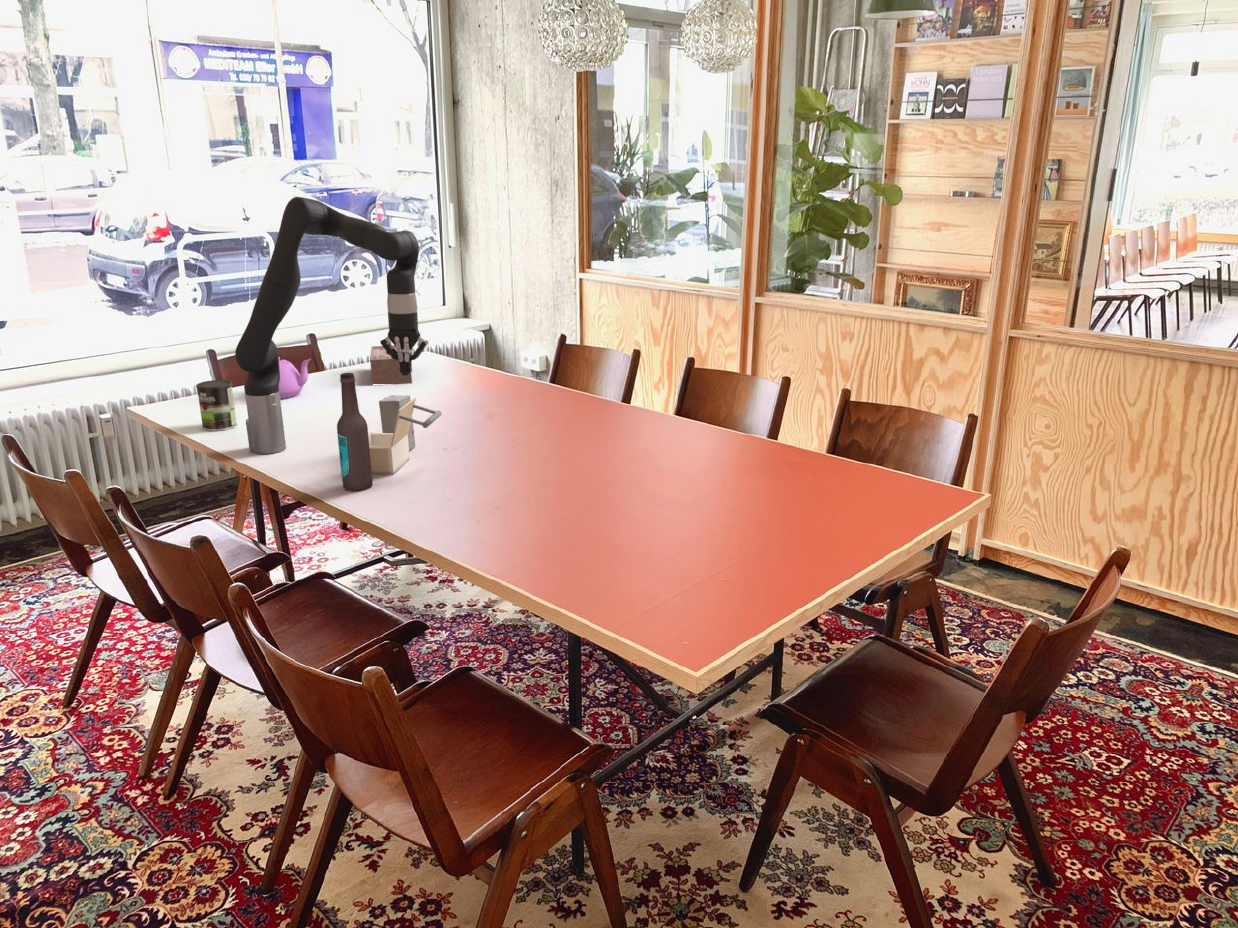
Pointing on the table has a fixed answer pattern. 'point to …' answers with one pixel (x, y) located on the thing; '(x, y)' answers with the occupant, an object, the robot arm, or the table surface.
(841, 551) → the table surface
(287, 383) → the teapot
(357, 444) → the beer bottle
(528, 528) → the table surface
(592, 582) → the table surface
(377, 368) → the tissue box cover
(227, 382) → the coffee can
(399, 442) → the carton
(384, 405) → the skincare box
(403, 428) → the flap
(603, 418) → the table surface
